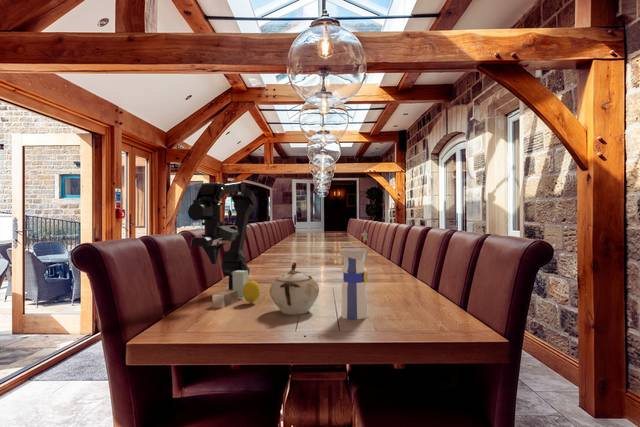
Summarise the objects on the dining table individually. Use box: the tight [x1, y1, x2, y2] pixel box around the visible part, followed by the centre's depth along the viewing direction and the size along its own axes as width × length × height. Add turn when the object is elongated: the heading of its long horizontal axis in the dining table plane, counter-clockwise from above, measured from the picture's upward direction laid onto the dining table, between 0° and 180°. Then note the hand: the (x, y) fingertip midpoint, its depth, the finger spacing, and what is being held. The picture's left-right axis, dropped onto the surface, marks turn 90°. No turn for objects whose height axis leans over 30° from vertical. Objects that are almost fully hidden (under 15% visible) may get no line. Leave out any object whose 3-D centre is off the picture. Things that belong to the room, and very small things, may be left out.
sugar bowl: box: [269, 262, 320, 316], centre depth 133 cm, size 20×15×15 cm
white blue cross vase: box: [339, 229, 369, 320], centre depth 127 cm, size 8×9×25 cm
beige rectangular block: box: [212, 289, 239, 309], centre depth 145 cm, size 4×4×10 cm
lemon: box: [243, 279, 261, 304], centre depth 145 cm, size 6×6×8 cm
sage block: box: [233, 270, 249, 300], centre depth 155 cm, size 4×4×10 cm
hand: (214, 264), depth 152 cm, fingers closed
